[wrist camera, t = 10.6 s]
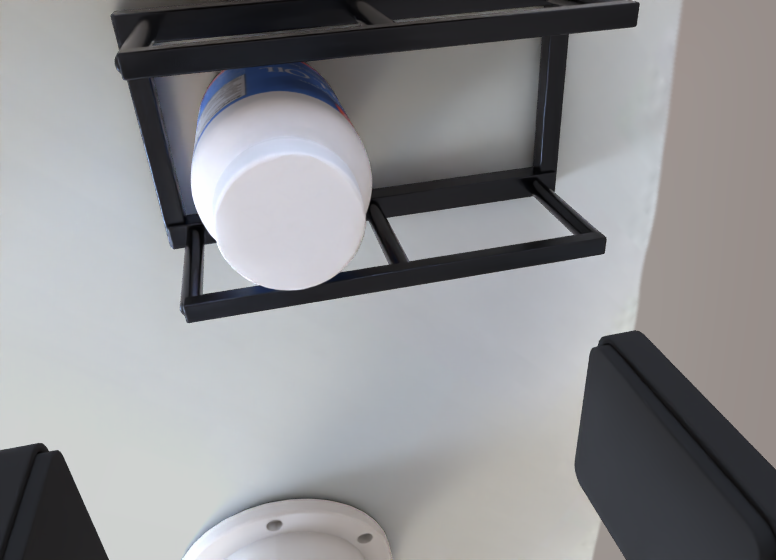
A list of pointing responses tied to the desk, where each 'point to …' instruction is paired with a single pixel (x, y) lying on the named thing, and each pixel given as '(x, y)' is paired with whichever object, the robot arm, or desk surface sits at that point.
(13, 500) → the robot arm
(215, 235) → the pill bottle
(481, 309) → the desk surface
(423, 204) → the wire rack
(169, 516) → the desk surface
